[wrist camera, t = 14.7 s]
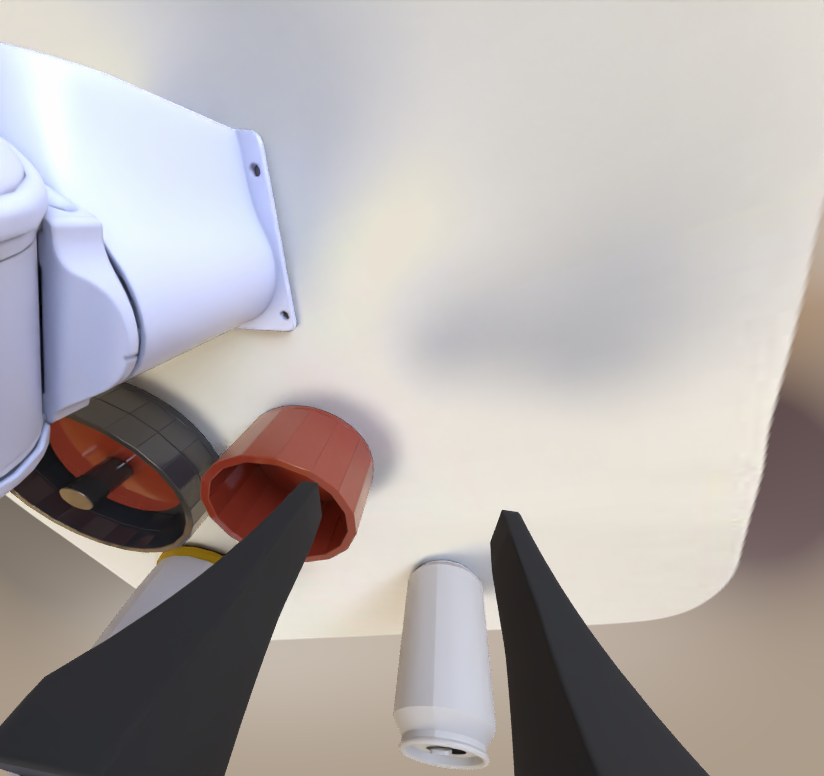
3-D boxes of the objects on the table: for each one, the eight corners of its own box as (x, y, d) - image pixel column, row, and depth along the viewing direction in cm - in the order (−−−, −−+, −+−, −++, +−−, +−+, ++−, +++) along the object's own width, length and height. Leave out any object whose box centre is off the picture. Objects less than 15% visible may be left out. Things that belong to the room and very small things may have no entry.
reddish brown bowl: (233, 400, 22) (174, 448, 17) (370, 410, 21) (347, 464, 16) (266, 495, 27) (227, 552, 22) (376, 507, 26) (360, 569, 21)
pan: (-6, 367, 23) (-87, 393, 19) (187, 380, 21) (136, 411, 18) (101, 505, 31) (57, 541, 27) (246, 522, 29) (219, 562, 26)
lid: (39, 391, 23) (-43, 425, 19) (178, 421, 23) (124, 461, 19) (93, 487, 28) (38, 528, 25) (204, 511, 28) (167, 556, 24)
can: (418, 595, 33) (404, 769, 22) (401, 556, 29) (375, 739, 19) (485, 595, 31) (504, 781, 21) (476, 553, 28) (493, 752, 17)
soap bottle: (244, 549, 32) (-257, 1353, 9) (262, 601, 38) (-18, 1172, 15) (148, 534, 32) (-547, 1253, 10) (180, 587, 38) (-209, 1117, 16)
